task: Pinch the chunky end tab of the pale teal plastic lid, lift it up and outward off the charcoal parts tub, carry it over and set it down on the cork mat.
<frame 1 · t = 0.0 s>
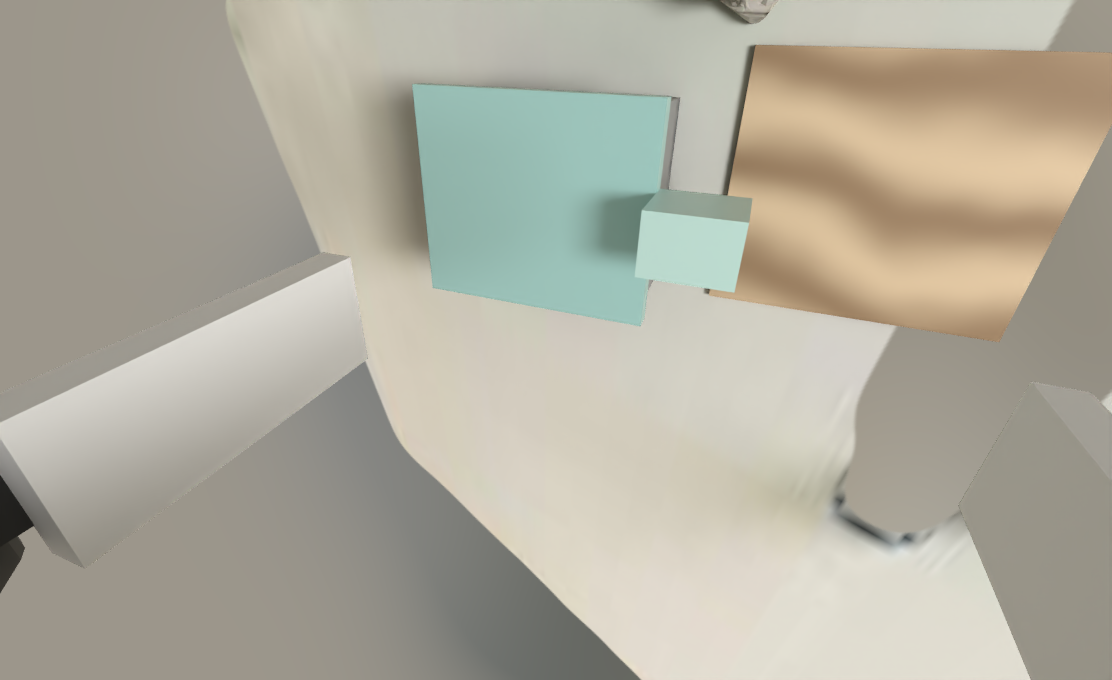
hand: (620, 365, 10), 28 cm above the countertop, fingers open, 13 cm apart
tub: (573, 182, 38), on the countertop
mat: (881, 198, 32), on the countertop
lid: (537, 204, 32), point 7 cm above the countertop, touching tub
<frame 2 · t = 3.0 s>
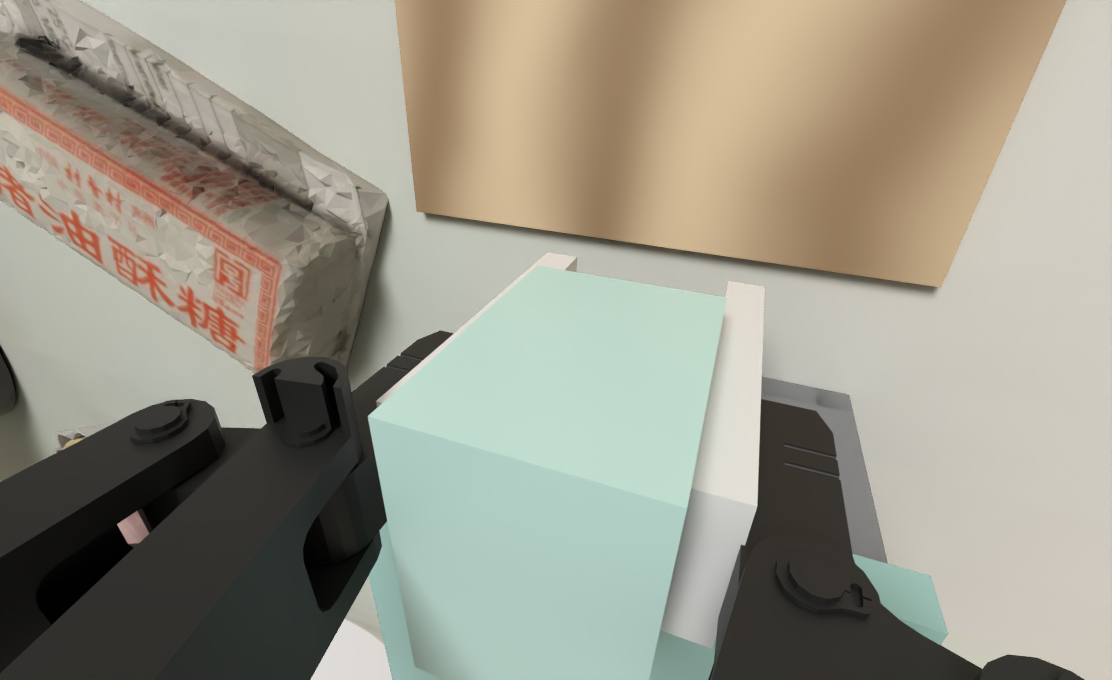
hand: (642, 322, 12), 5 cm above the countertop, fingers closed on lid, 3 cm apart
tub: (636, 500, 21), on the countertop
lid: (585, 664, 15), point 7 cm above the countertop, touching gripper, tub
cupcake: (203, 442, 32), on the countertop
packaged product: (208, 184, 22), on the countertop
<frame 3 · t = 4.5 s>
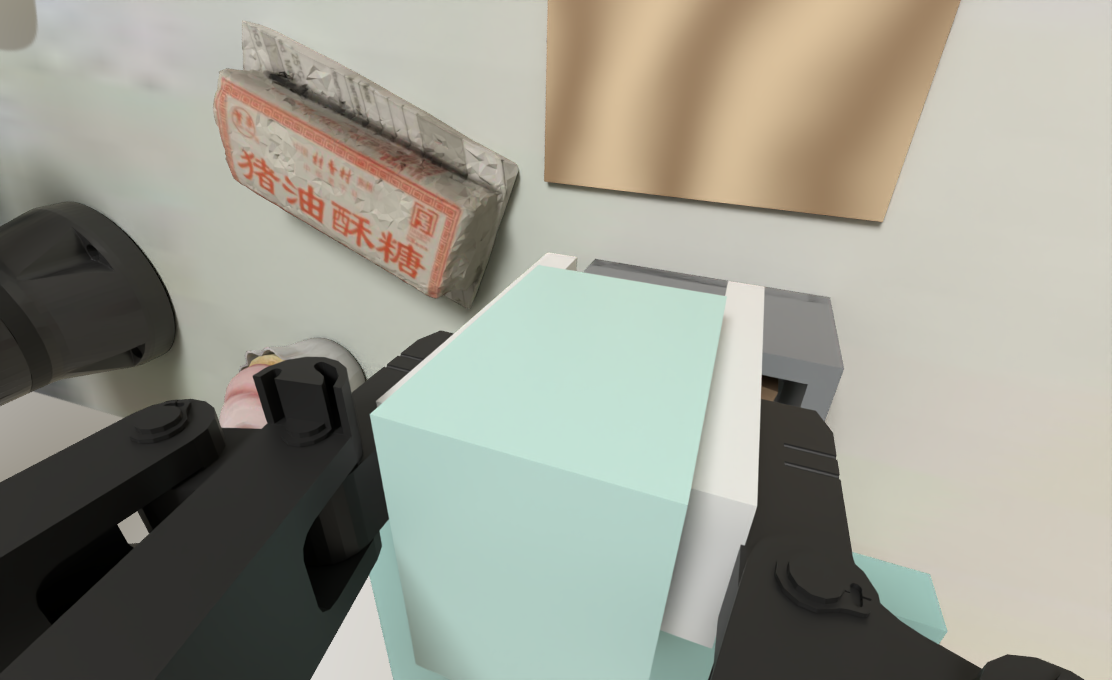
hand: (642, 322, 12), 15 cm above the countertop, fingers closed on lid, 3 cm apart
tub: (684, 387, 30), on the countertop
lid: (585, 663, 15), point 18 cm above the countertop, touching gripper
cupcake: (337, 369, 42), on the countertop
packaged product: (379, 169, 32), on the countertop
block b: (725, 367, 28), point 1 cm above the countertop, touching tub
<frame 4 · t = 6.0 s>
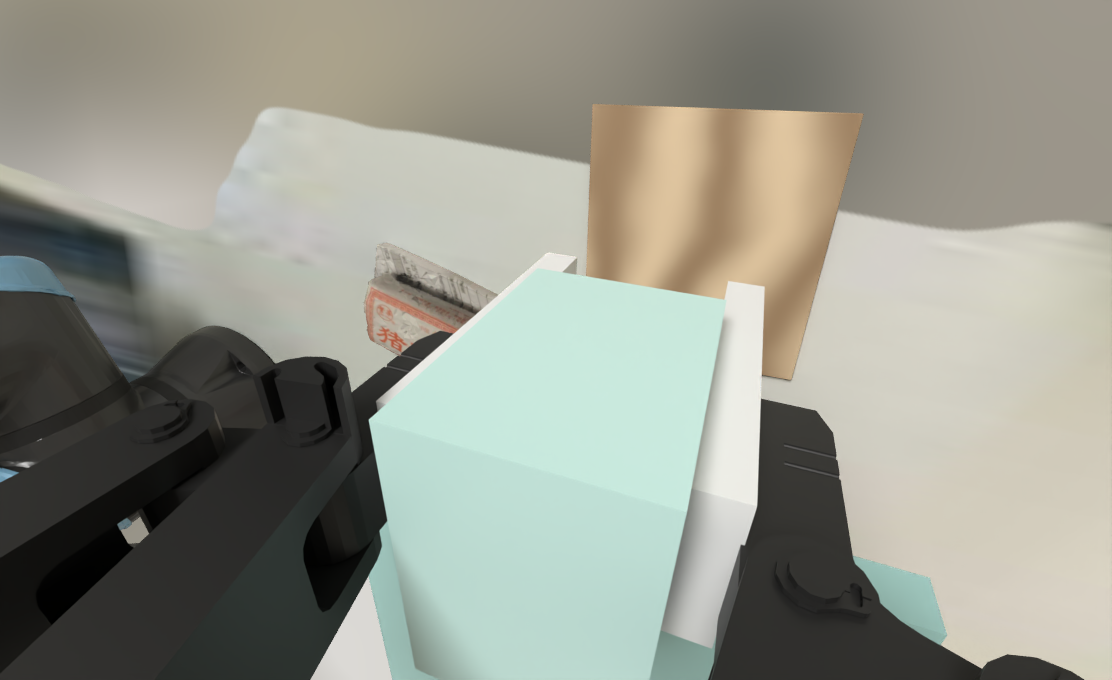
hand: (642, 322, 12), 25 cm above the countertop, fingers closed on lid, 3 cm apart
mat: (698, 248, 36), on the countertop
lid: (585, 665, 15), point 27 cm above the countertop, touching gripper
packaged product: (465, 324, 47), on the countertop
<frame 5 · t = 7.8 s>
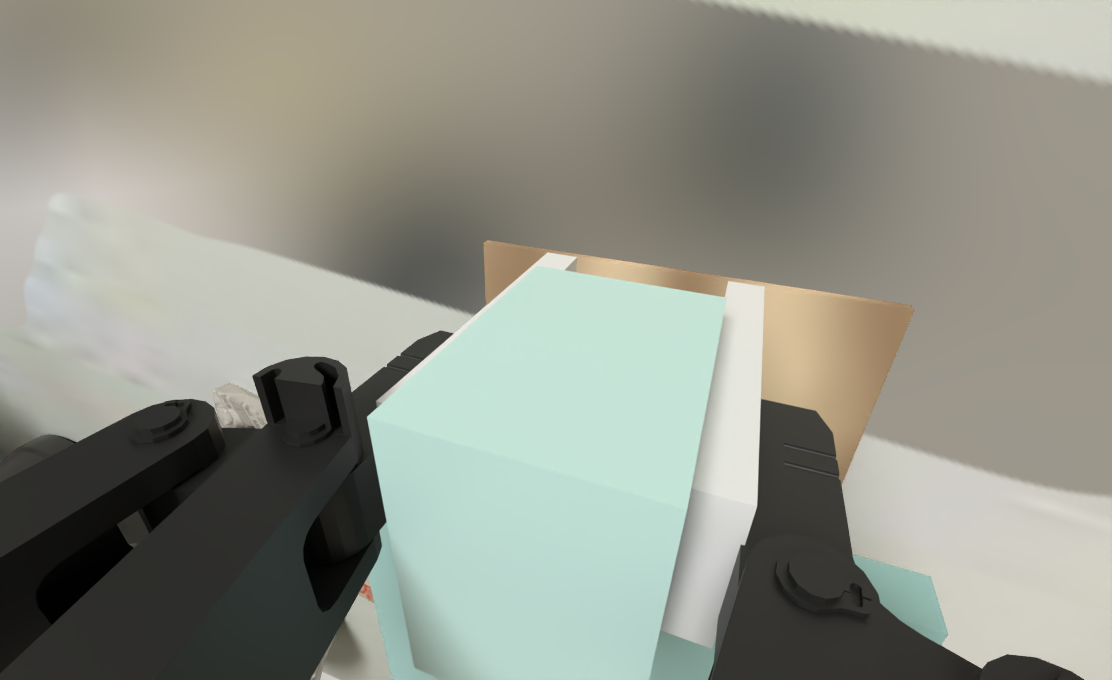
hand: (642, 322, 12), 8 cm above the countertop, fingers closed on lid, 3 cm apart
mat: (647, 448, 24), on the countertop
lid: (585, 665, 15), point 10 cm above the countertop, touching gripper
packaged product: (346, 482, 35), on the countertop
when the fingers open (2 cm above the countertop, at t = 9.4 s): lid drops 4 cm, resting on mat.
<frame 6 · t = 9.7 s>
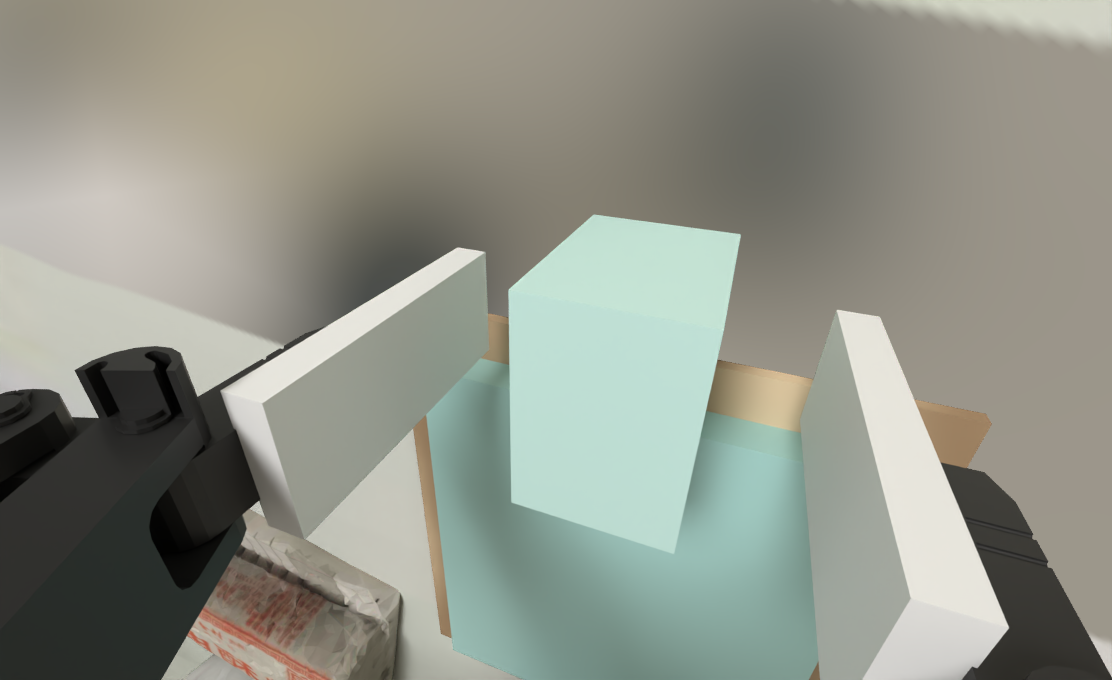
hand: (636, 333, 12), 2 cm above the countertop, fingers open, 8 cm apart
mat: (618, 558, 19), on the countertop
lid: (616, 566, 18), resting on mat
cupcake: (257, 671, 39), on the countertop
packaged product: (275, 557, 30), on the countertop
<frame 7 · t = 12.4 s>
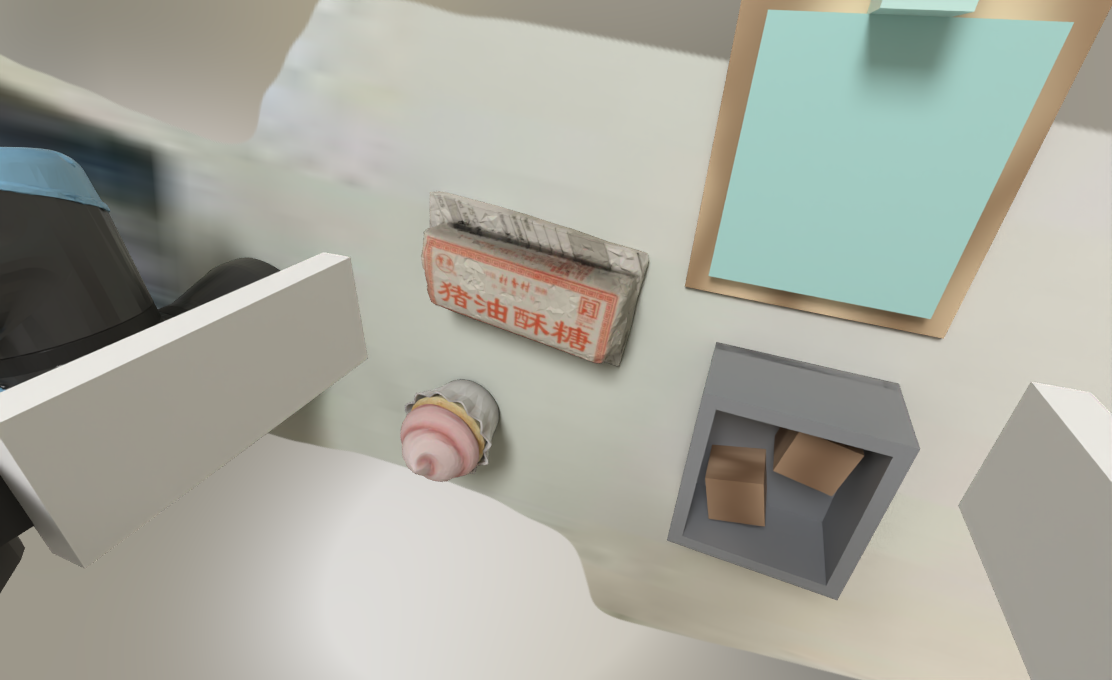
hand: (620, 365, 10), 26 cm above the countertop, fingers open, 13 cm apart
tub: (776, 437, 40), on the countertop
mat: (851, 170, 30), on the countertop
lid: (852, 170, 29), resting on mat
cupcake: (473, 404, 51), on the countertop
packaged product: (533, 273, 42), on the countertop
block b: (814, 427, 37), point 1 cm above the countertop, touching tub
block a: (739, 466, 41), point 1 cm above the countertop, touching tub
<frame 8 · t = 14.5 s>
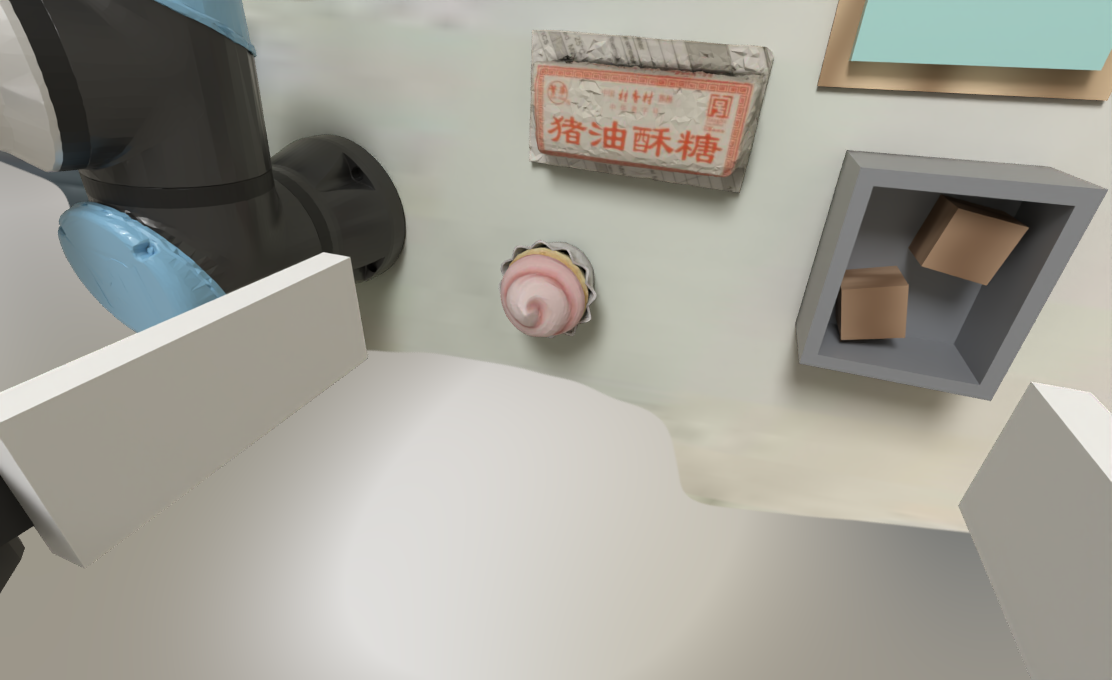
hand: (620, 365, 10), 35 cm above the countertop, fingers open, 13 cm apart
tub: (905, 255, 38), on the countertop
cupcake: (564, 272, 49), on the countertop
packaged product: (640, 109, 41), on the countertop
block b: (954, 230, 36), point 1 cm above the countertop, touching tub
block a: (864, 292, 40), point 1 cm above the countertop, touching tub
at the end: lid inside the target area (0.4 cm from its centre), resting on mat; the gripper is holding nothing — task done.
